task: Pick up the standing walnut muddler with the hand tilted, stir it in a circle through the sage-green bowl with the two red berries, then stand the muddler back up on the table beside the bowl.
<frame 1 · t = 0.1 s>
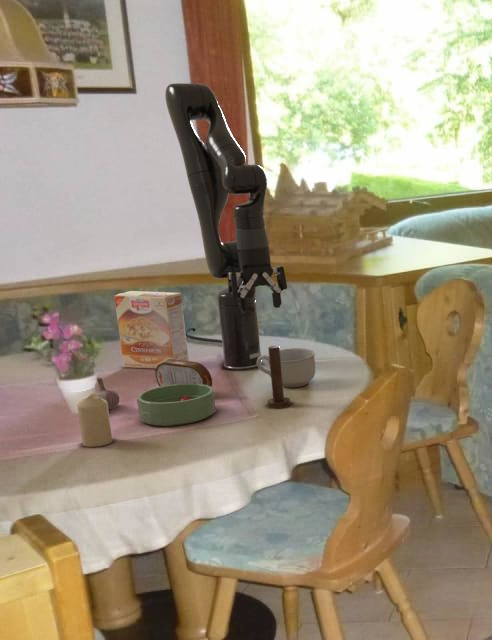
hand: (260, 309, 258), 17 cm above the table, tool pointing down, fingers open, 8 cm apart
tin: (185, 395, 245), on the table
candle: (97, 443, 212), on the table
berry a: (186, 402, 232), point 2 cm above the table, touching bowl
coffeecake box: (156, 366, 272), on the table
garlic bulb: (104, 410, 234), on the table
bowl: (178, 416, 229), on the table
teacup: (288, 384, 255), on the table
muddler: (279, 405, 238), on the table
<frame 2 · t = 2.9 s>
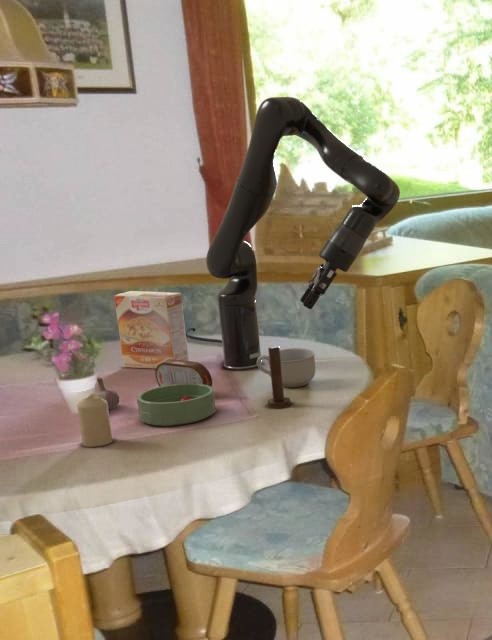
hand: (305, 305, 239), 22 cm above the table, tool tilted 35°, fingers open, 8 cm apart
nothing on the table moved.
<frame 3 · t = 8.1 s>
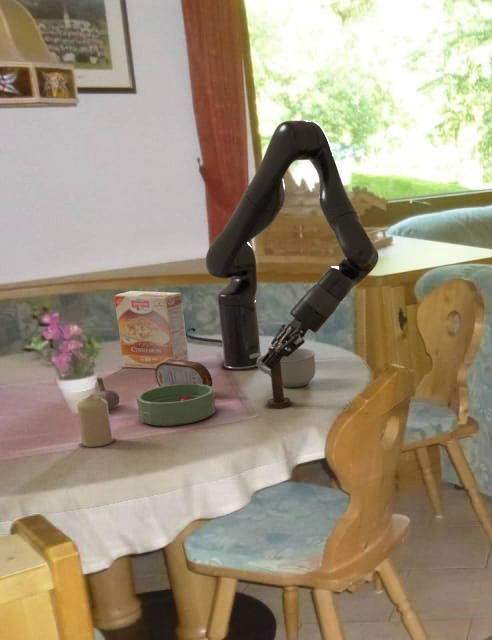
hand: (266, 365, 234), 10 cm above the table, tool tilted 45°, fingers closed on muddler, 2 cm apart
muddler: (279, 405, 238), on the table, touching gripper
everything else where it was.
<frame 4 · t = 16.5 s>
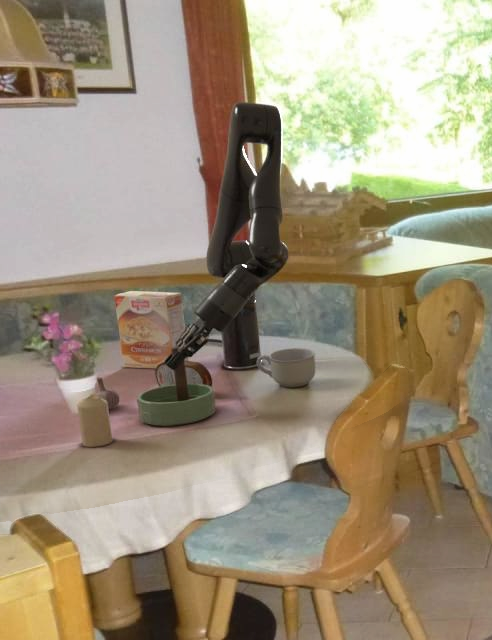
hand: (169, 366, 226), 12 cm above the table, tool tilted 45°, fingers closed on muddler, 2 cm apart
berry a: (185, 402, 233), point 2 cm above the table, tilted 29°, touching bowl, muddler
muddler: (184, 407, 230), point 2 cm above the table, touching berry a, gripper
everything else where it was.
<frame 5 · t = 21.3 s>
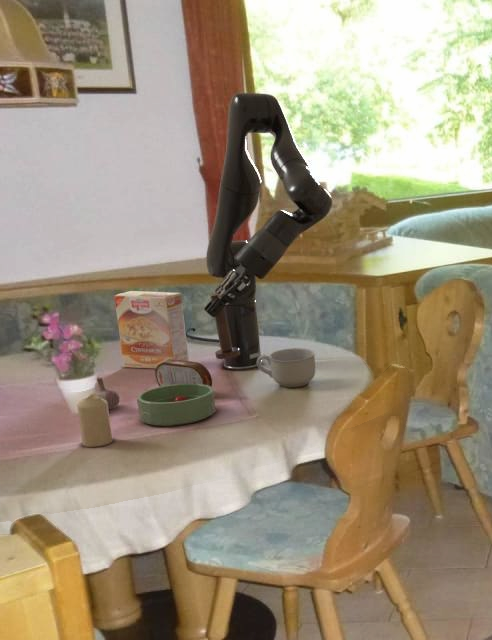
hand: (209, 313, 222), 24 cm above the table, tool tilted 45°, fingers closed on muddler, 2 cm apart
berry a: (180, 402, 233), point 2 cm above the table, tilted 28°, touching bowl
muddler: (228, 355, 226), point 14 cm above the table, touching gripper
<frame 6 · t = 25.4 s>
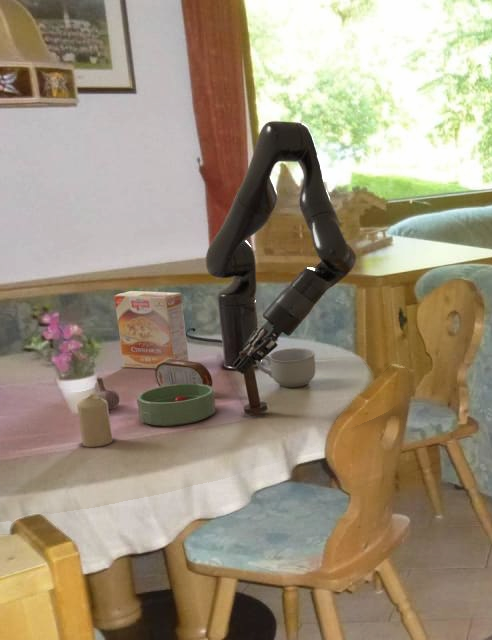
hand: (237, 369, 226), 11 cm above the table, tool tilted 45°, fingers closed on muddler, 2 cm apart
muddler: (256, 410, 230), point 1 cm above the table, touching gripper
when the fingers open (10 cm above the table, at t = 25.9 s): muddler stays where it is, on the table.
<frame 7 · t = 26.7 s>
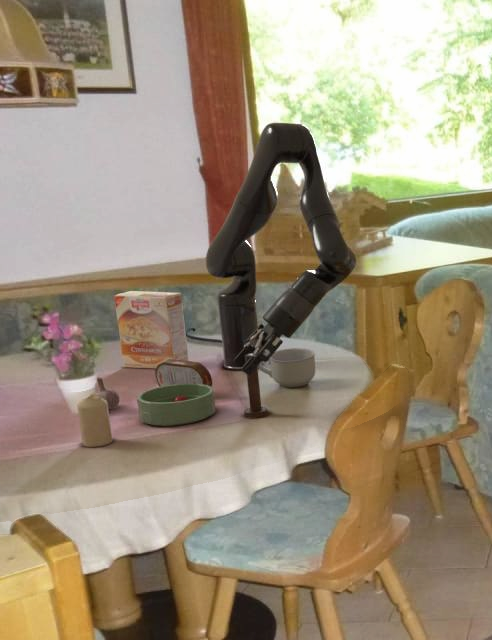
hand: (240, 368, 226), 11 cm above the table, tool tilted 45°, fingers open, 8 cm apart
muddler: (256, 414, 230), on the table
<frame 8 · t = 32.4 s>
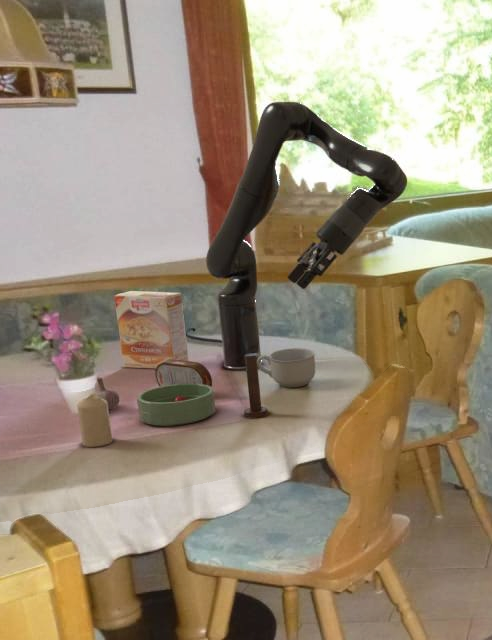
hand: (295, 283, 231), 29 cm above the table, tool tilted 45°, fingers open, 8 cm apart
at the end: muddler 0.9 cm from the target spot, on the table; muddler tilted 0°; the gripper is holding nothing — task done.
